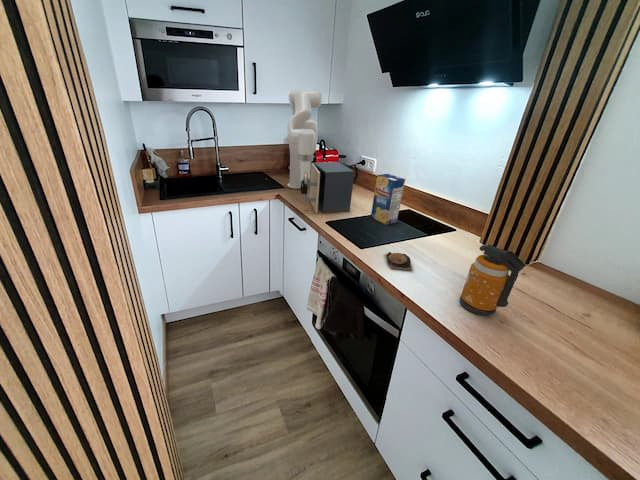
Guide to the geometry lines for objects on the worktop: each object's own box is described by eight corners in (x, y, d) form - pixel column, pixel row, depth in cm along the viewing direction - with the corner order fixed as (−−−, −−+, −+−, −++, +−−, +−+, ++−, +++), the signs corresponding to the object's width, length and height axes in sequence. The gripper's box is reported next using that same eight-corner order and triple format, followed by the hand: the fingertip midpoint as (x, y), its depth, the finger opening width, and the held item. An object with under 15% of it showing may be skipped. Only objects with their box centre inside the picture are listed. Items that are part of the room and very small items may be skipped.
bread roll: (413, 272, 101) (415, 263, 99) (388, 269, 102) (390, 260, 101) (407, 256, 111) (409, 248, 109) (384, 254, 112) (386, 246, 110)
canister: (466, 293, 90) (486, 237, 82) (507, 312, 82) (533, 253, 74) (453, 304, 85) (472, 245, 77) (495, 326, 77) (522, 264, 69)
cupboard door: (303, 213, 149) (305, 172, 140) (298, 199, 169) (300, 163, 160) (317, 213, 149) (320, 172, 140) (310, 199, 169) (312, 162, 161)
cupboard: (323, 213, 150) (326, 172, 141) (311, 199, 170) (313, 162, 161) (349, 211, 152) (354, 171, 143) (335, 198, 172) (338, 161, 163)
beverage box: (386, 225, 137) (394, 180, 128) (370, 216, 146) (377, 175, 137) (396, 222, 140) (405, 179, 131) (380, 214, 149) (387, 173, 140)
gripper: (296, 154, 147) (295, 188, 155) (299, 160, 133) (298, 198, 140) (310, 154, 147) (308, 188, 155) (315, 160, 133) (313, 198, 141)
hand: (303, 192), depth 147 cm, fingers closed on cupboard door
